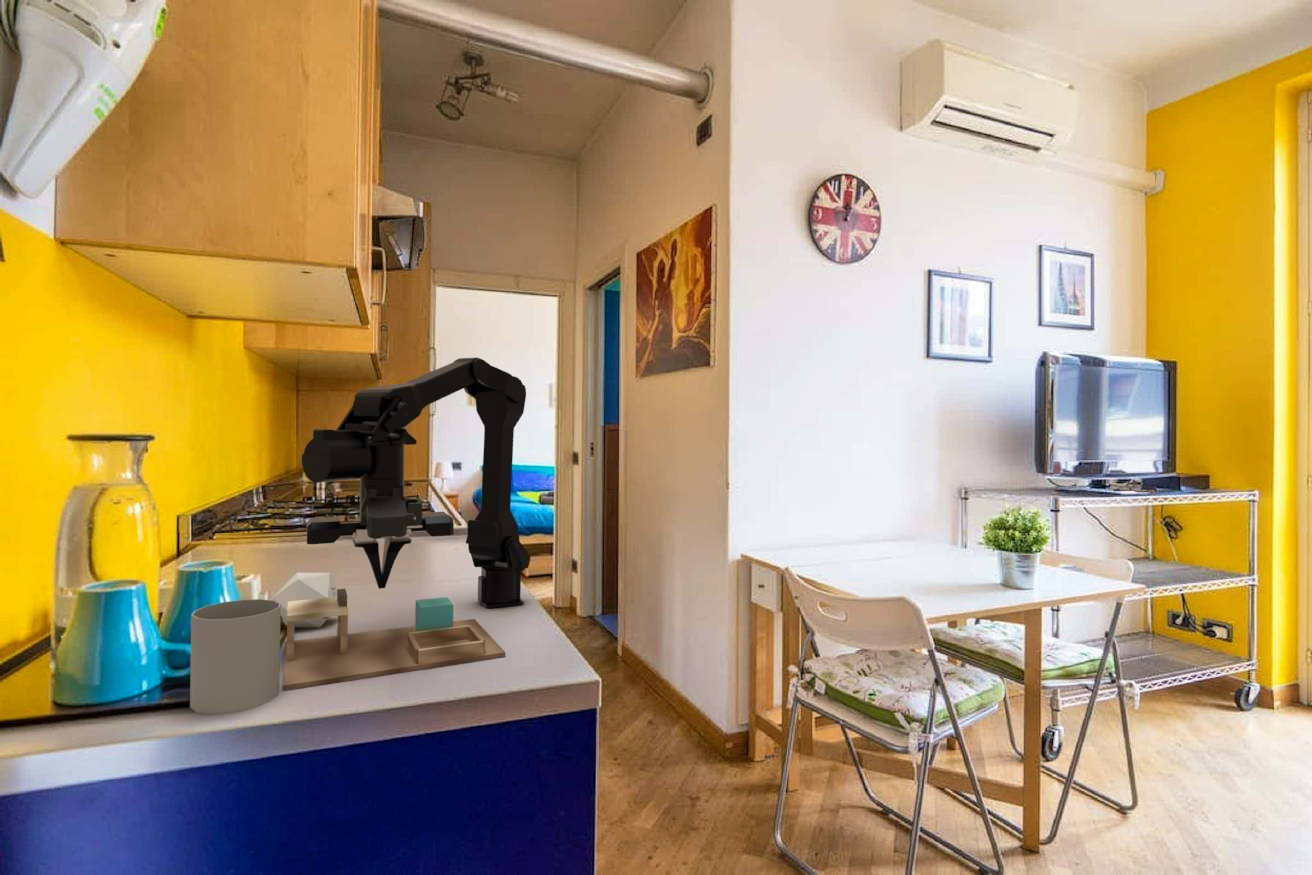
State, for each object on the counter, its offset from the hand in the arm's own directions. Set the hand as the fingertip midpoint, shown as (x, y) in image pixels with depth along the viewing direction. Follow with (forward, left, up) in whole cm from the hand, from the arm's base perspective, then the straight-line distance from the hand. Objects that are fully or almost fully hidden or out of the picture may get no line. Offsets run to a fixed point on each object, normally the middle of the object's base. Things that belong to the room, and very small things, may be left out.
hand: (381, 587), depth 92 cm
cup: (+16, +13, -8) cm, 22 cm away
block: (-7, 0, -7) cm, 10 cm away
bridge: (+8, 0, -7) cm, 11 cm away
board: (-1, +4, -8) cm, 9 cm away
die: (+9, -14, -8) cm, 19 cm away
